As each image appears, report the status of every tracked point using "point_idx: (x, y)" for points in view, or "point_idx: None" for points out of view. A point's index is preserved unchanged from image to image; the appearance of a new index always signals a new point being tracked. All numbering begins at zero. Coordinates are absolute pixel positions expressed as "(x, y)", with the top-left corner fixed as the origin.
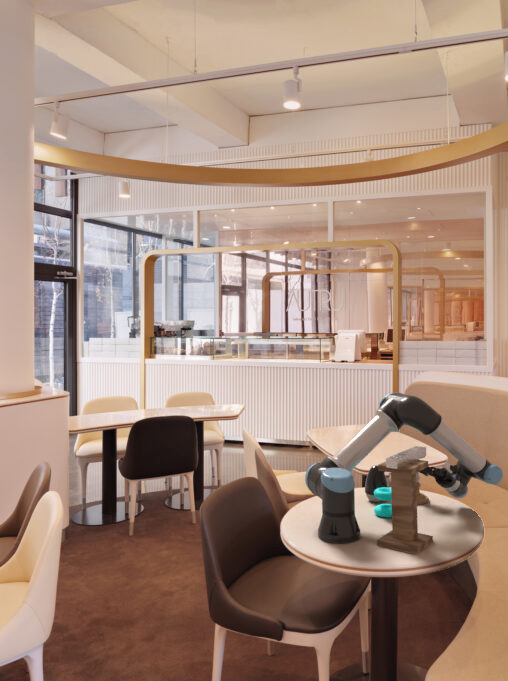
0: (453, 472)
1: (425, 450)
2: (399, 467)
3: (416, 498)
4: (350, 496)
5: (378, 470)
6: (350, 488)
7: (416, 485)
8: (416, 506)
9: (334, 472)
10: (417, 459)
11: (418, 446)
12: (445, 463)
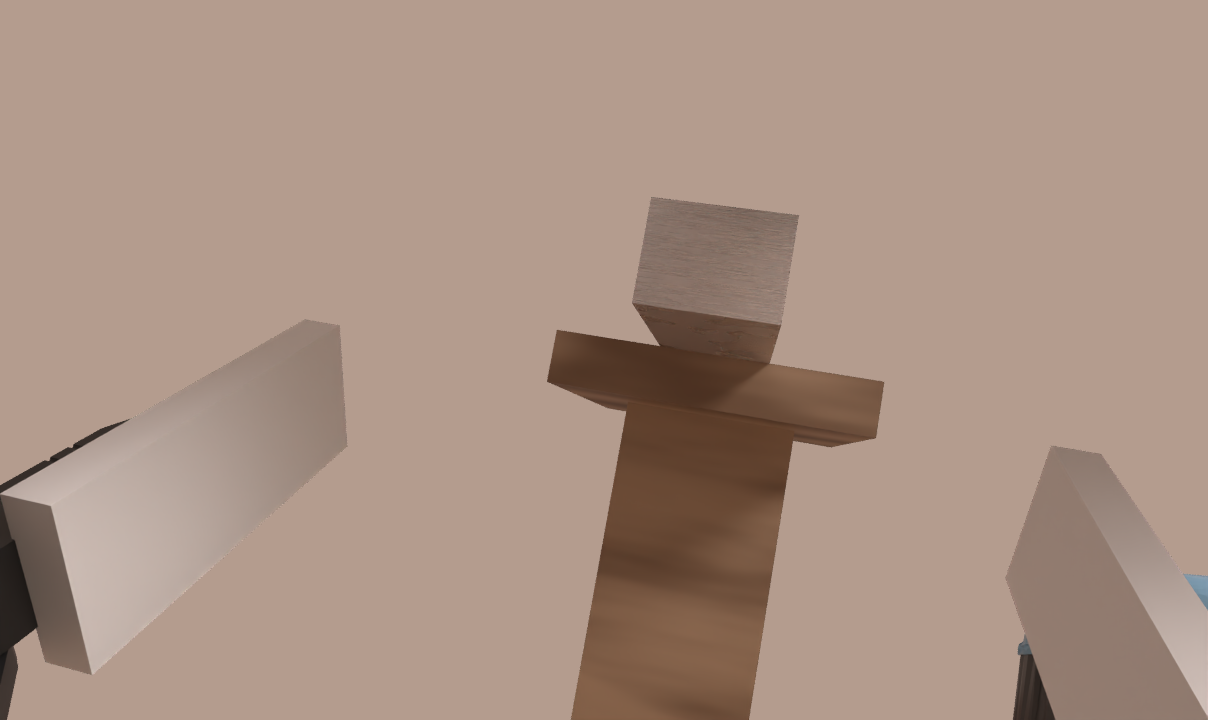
0: (11, 638)
1: (647, 240)
2: None
3: (585, 645)
4: (1016, 695)
5: (828, 446)
6: (1024, 638)
7: (603, 540)
8: (574, 710)
9: (1195, 575)
10: (660, 344)
11: (755, 210)
12: (335, 379)
